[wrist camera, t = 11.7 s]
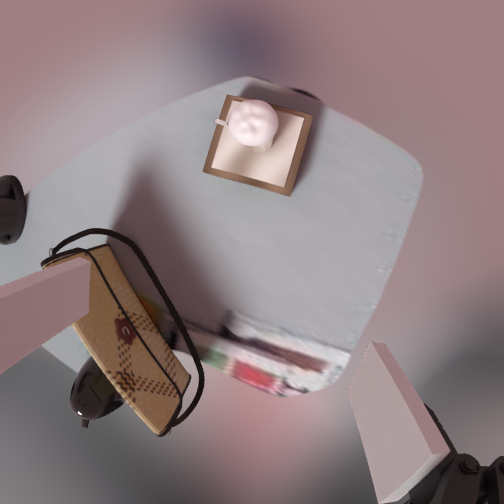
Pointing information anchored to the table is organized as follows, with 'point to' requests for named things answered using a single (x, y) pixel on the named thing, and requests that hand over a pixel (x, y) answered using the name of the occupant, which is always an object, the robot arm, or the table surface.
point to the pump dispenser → (93, 393)
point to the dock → (260, 164)
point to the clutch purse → (130, 337)
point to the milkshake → (252, 125)
